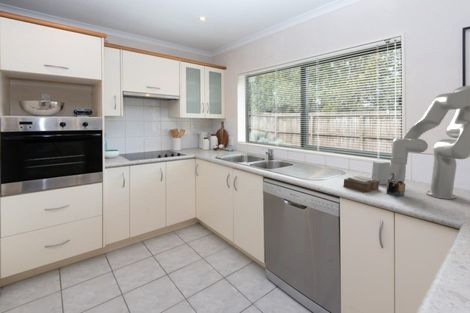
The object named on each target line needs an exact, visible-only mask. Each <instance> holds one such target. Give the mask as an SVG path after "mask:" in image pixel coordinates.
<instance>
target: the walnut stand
mask: <svg viewBox="0 0 470 313" xmlns="http://www.w3.org/2000/svg"><path fill="white" fill-rule="evenodd" d="M343 188H346V189H350V190H353V191H354V190H355V191H357V192H361V193H369V192H372V191H377V190H379V188H380V185H379V181H376V179H372V177H371V178H370V177H366V176H361V175H355V176H349V177H347V178H344V179H343Z"/></svg>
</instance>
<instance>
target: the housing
mask: <svg viewBox="0 0 470 313" xmlns="http://www.w3.org/2000/svg"><path fill="white" fill-rule="evenodd" d="M393 183H394V182H393ZM388 184H389V183H387V184H386V195H390V196H394V197H397V198H401V197H404V196H405V191H406V183H405V182H404V183H400V182H396V183H395V193H390V192H388V186H389V185H388Z"/></svg>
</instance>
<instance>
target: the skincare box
mask: <svg viewBox="0 0 470 313" xmlns="http://www.w3.org/2000/svg"><path fill="white" fill-rule="evenodd" d="M390 164H391V161H390V162H389V161H386V160H379V161H378V160H377V161H375V160H374V161H372V172H371V179H376V181H379V186H381V185H387V183H388V172H389V167H390Z"/></svg>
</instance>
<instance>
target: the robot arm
mask: <svg viewBox="0 0 470 313" xmlns="http://www.w3.org/2000/svg"><path fill="white" fill-rule="evenodd" d="M450 110H455V113H454V115H453V117H452V119H451V120H450V122H449V124H448V126H447V127H446V131H445V133H446V135H447V136H448V137H450V138H449V139H448V138H444V139H439V140H438V141H436V143H435V144H434V145H433V167H432V176H431V181H430V189H429V190H427V191H426V195H428V196H430V197H433V198H438V199H445V200H455V199H456V197H457V196H456V194H453V192H454V185H455V184H454V183H455V178H456V172H457V160H464V159H468V158H469V157H470V85H469V84H468V85H464V86H460V87H457V88H455V89H454V90H453V91H452V92H449V93H441V94H438V95H437V96H435V97H434V98H433V100H432V102H431V103H430V105H429V106H428V107H427V109H426V111H425V112H424V115H423V116H422V117H421V118H420V120H418V121H417V122H416V123H415V124H413V125H412V126H411V127H410V128H409V129H408V130H407V132H406V133H405V135H404V136H403V138H394V139H393V141H392V147H391V157H390V167H389V172H388V183H389V184H388V185H389V186H388V192H390V193H395V183H396V182H400V183H405V179H406V177H407V176H406V169H407V165H408V158H409V157H408V156H409V153H414V154H415V153H416V154H417V153H418V154H422V153H424V152H425V151H426V150H428V147H429V144H428V143H427V141H426V140H424V139H421V136H422V135H423V134H425V133H426V132H428V131H430V130H432V129H435V128H437V127H439V126H440V125H441V123H442V122H443V120H444V119H445V118H446V115H447V114H448V113H449V111H450ZM451 138H453V139H451ZM393 182H394V183H393Z"/></svg>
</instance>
